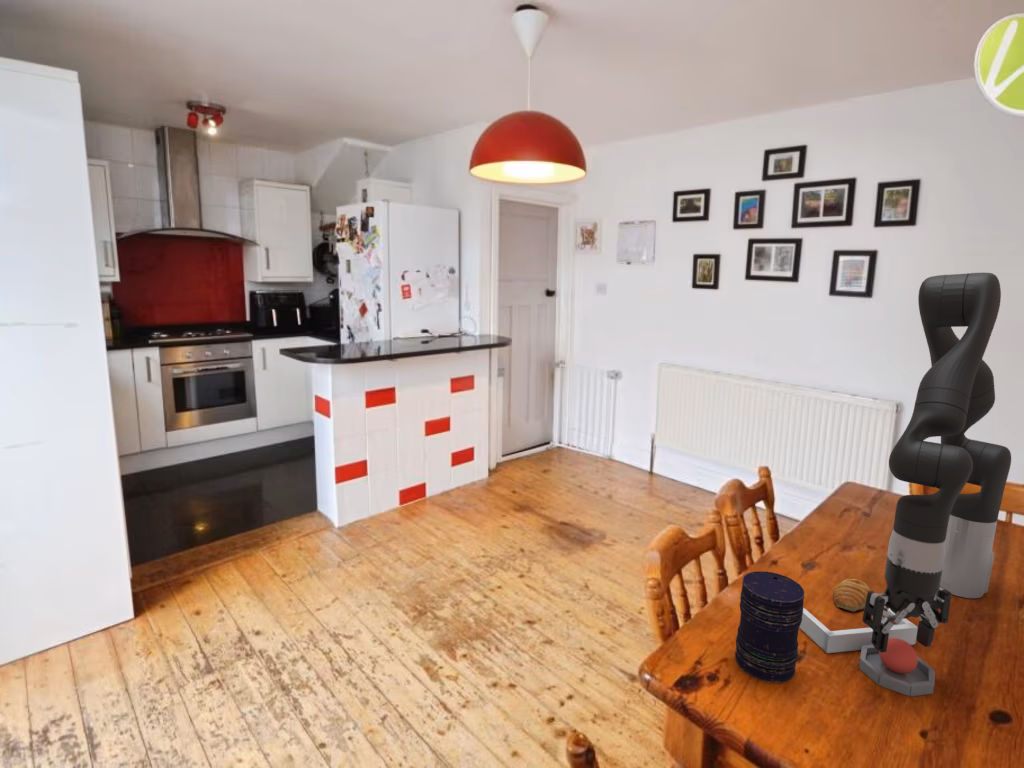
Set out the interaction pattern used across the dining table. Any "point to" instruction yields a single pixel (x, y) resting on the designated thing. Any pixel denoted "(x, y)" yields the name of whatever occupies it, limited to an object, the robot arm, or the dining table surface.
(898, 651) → the ball
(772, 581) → the dark blue ridged cylinder
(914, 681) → the dish
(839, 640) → the white u-shaped bracket
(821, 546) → the dining table surface
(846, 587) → the pastry
